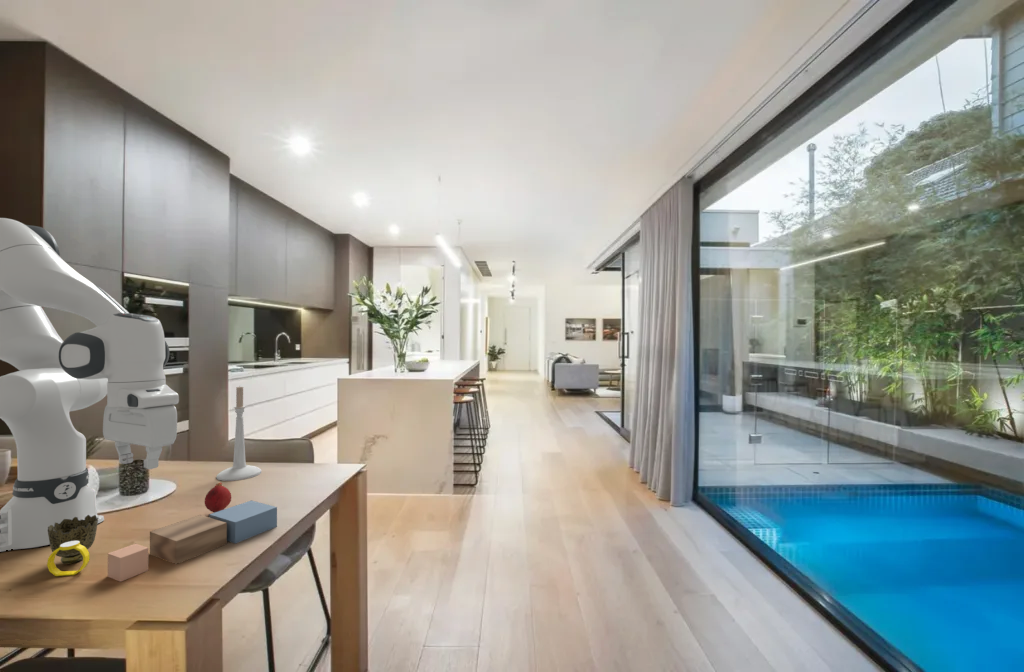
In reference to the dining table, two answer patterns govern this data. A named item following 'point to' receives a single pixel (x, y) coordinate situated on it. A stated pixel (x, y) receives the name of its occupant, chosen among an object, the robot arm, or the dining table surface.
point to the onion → (217, 498)
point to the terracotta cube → (127, 562)
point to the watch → (68, 546)
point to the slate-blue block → (247, 520)
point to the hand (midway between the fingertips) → (138, 465)
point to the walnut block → (187, 538)
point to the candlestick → (239, 448)
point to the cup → (72, 536)
